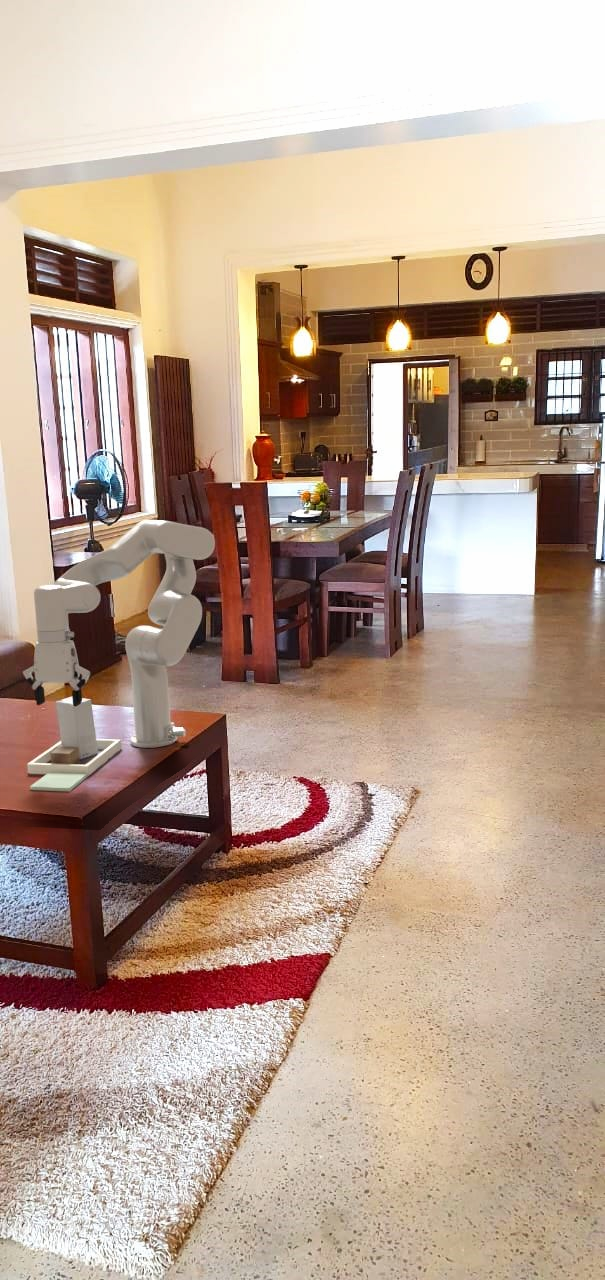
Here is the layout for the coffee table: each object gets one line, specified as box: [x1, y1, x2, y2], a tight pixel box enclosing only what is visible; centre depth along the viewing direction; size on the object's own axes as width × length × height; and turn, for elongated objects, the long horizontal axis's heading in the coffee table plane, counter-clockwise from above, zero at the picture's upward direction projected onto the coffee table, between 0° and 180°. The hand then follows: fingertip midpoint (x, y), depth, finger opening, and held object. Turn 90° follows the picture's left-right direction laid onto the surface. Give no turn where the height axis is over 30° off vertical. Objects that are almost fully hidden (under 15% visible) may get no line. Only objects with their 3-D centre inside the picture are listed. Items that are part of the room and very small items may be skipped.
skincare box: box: [55, 696, 99, 760], centre depth 248 cm, size 8×6×15 cm
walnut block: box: [50, 747, 81, 765], centre depth 239 cm, size 5×5×5 cm
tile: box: [29, 772, 89, 792], centre depth 229 cm, size 10×10×1 cm
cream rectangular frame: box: [26, 738, 122, 777], centre depth 245 cm, size 16×21×2 cm
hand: (59, 704), depth 235 cm, fingers open, 9 cm apart
